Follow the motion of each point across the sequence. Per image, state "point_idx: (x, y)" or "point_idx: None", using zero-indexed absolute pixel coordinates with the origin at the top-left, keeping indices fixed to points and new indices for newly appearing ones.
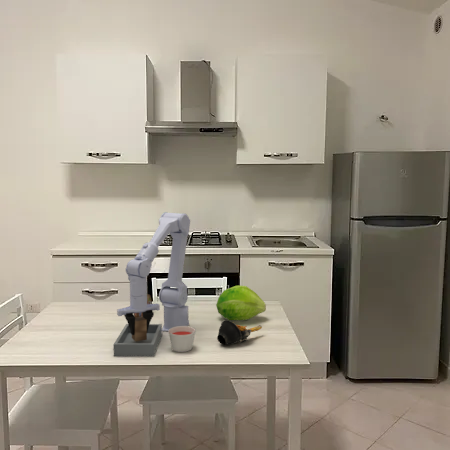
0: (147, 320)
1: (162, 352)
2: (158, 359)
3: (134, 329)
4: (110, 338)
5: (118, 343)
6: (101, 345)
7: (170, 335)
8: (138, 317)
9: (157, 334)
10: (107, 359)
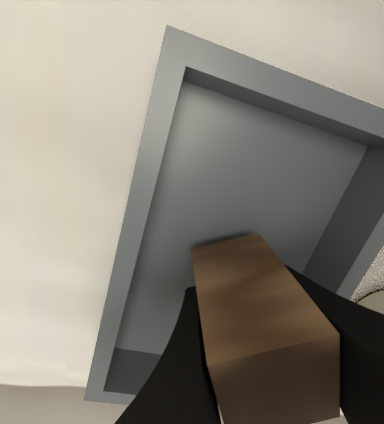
0: (343, 402)
1: None
2: None
3: None
4: (59, 106)
5: (109, 396)
6: (21, 214)
7: None
8: (288, 354)
9: None
10: (78, 364)
